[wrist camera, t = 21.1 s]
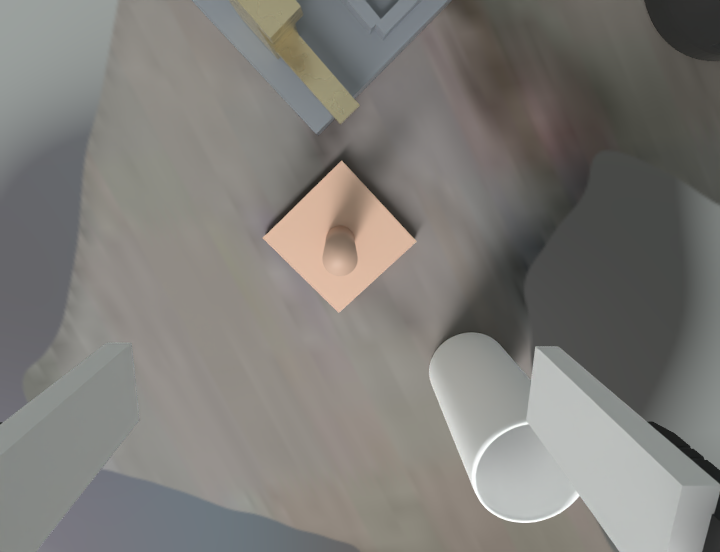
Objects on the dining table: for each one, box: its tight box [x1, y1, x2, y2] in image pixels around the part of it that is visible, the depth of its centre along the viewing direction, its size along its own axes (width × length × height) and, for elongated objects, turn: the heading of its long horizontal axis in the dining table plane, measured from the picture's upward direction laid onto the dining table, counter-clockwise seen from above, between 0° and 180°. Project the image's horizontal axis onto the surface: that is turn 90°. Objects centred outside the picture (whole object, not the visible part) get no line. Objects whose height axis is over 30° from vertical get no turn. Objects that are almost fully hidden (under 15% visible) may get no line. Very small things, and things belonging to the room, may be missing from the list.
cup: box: [429, 332, 579, 523], centre depth 39 cm, size 8×8×16 cm
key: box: [229, 0, 360, 125], centre depth 30 cm, size 12×2×11 cm, turn 43°
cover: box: [263, 161, 417, 312], centre depth 38 cm, size 10×10×10 cm
